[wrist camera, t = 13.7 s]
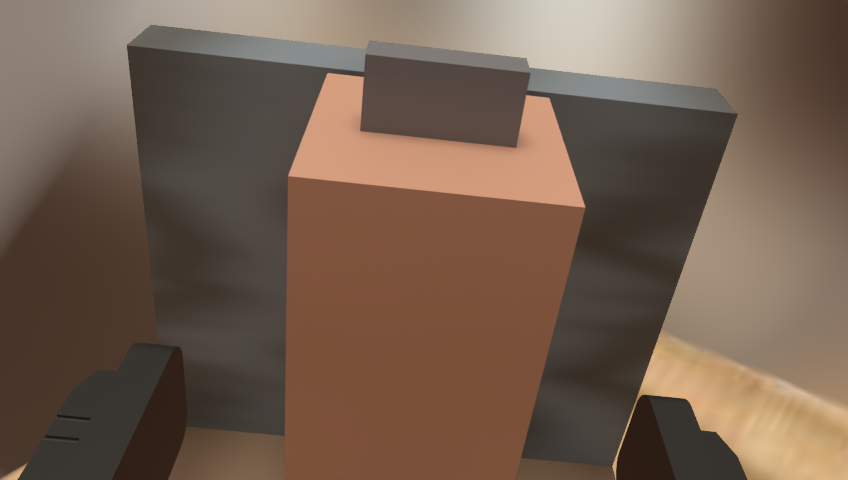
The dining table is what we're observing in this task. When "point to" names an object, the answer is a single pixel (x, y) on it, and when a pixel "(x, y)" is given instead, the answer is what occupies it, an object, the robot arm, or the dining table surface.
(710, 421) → the dining table surface
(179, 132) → the grey brown l-shaped block
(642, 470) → the robot arm
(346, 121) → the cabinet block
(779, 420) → the dining table surface
